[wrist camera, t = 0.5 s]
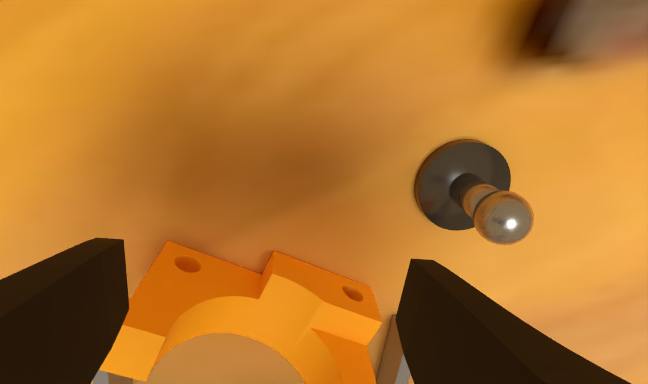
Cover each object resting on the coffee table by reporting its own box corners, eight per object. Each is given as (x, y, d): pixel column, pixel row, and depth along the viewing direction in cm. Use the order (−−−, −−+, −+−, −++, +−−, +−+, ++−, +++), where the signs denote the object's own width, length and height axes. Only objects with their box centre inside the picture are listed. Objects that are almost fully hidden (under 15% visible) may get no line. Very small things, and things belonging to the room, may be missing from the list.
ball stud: (486, 226, 21) (551, 283, 16) (406, 220, 20) (446, 277, 15) (514, 144, 19) (597, 178, 14) (426, 134, 18) (479, 166, 13)
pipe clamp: (369, 285, 22) (400, 373, 16) (337, 335, 23) (354, 435, 17) (179, 212, 19) (128, 287, 13) (154, 275, 20) (97, 369, 14)
